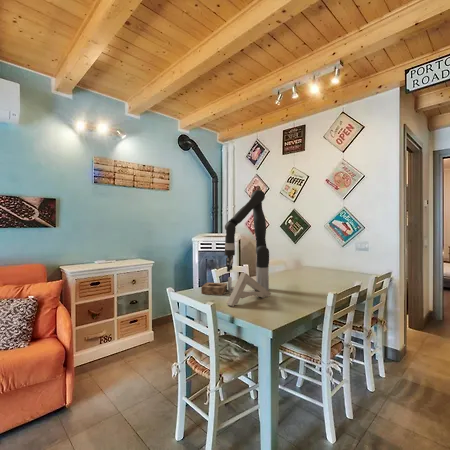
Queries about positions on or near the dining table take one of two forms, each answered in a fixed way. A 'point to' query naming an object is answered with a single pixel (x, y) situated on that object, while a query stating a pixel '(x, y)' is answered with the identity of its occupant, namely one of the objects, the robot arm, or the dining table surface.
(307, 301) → the dining table surface
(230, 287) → the bracket
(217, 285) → the well block
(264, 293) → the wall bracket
